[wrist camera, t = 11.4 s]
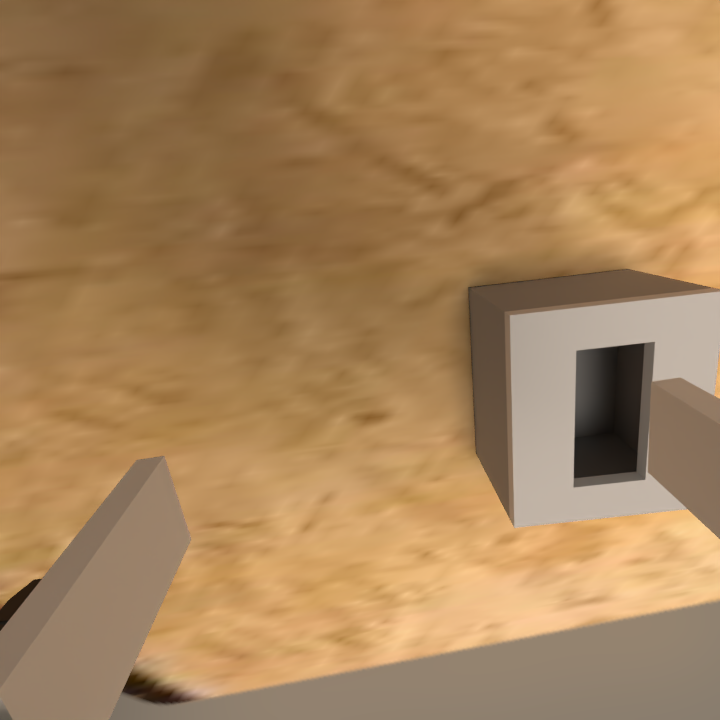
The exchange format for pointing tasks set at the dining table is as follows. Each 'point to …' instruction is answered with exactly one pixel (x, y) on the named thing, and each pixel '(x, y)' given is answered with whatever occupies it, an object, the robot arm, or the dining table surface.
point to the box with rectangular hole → (582, 387)
